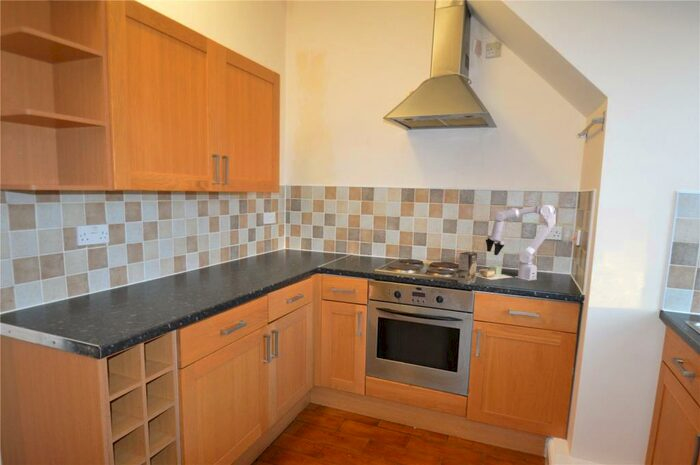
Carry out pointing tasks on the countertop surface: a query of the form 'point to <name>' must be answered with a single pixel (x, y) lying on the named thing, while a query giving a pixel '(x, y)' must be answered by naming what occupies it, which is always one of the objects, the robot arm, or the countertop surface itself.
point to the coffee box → (467, 267)
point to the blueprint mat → (495, 276)
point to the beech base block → (486, 273)
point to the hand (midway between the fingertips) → (492, 253)
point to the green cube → (496, 269)
